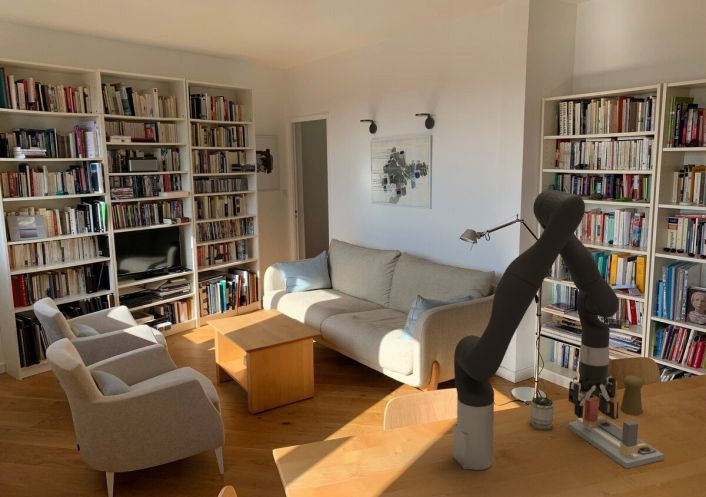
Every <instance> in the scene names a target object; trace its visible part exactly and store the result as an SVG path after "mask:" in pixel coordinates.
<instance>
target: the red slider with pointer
mask: <svg viewBox="0 0 706 497" xmlns="http://www.w3.org/2000/svg"><path fill="white" fill-rule="evenodd" d="M598 403H599V400H597V399H595V398H588V400H586V401H585V402H584V413H583V418H582V419H583V424H584V425H585V426H587V427H588V428H591V427H596V426H599V424H600V423H605V424H607V421H608V420H609V419H608V418H606V419H602V420H598V417H599V410H598Z"/></svg>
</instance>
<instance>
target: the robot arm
mask: <svg viewBox="0 0 706 497" xmlns="http://www.w3.org/2000/svg"><path fill="white" fill-rule="evenodd" d="M532 207H533V208H532V210H533V214H534V217H535V218H536V220H537V222H538V224H539V225H540V227H541V228H542V229H543V231H542V233H541V235H540V236H539V238H538V239H537V240H536V241H535V242H534V244H532V245H531V246H530V247H529V248H528V249H526V250H525V251H523V252H522V253H521V254H519V255H518V256H517V257H516V258H514V259H513V260H512V261H511V262H510V263H509V264H508V266H507V267H506V269H505V270H504V272H503V274H502V275H501V277H500V280H499V281H498V283H497V285H496V287H495V291H494V295H493V300H492V306H491V312H490V317H489V321H488V323H487V325H486V328H485V329H484V331H483V333H482V335H481V336H479V335H475V334H474V335H467V336H464V337H462V338H461V339H460V340H459V341H458V343H457V344H456V346H455V349H454V354H453V355H454V356H453V358H454V359H453V361H454V362H453V368H454V369H453V370H454V372H453V374H454V385H455V388H456V395H457V397H456V400H457V401H456V402H457V403H456V411H457V412H456V422H457V423H455V424H454V425H453V459H454V460H455V462H457V463H458V464H459V465H460V466H461V468H463V470H474V471H479V470H480V471H483V470H487V469H489V468H490V467H491V466H492V465H493V458H494V452H493V451H494V420H495V419H494V418H495V416H494V412H495V411H494V410H495V391H494V388H493V386H492V384H491V381H490V378H492V377H493V376H494V375H495V374H496V373H497V372H498V370H499V369H500V367H501V364H502V362H503V360H504V359H505V358H504V357H505V355H506V353H507V350H508V348H509V346H510V343H511V341H512V339H513V337H514V335H515V333H516V331H517V329H518V327H519V325H520V323H521V322H522V320H523V319H524V317H525V314H526V313H527V311H528V309H529V308H530V305H531V304H532V303H533V301H534V299H535V297H536V295H537V294H538V292H539V290H540V288H541V287H542V284H543V282H544V281H545V280H546V277H547V275H548V273H549V272H550V270H551V268H553V265H554V263H555V262H556V261H557V258H558V257H559V255H560V257H561V258H562V261H563V262H564V265H565V266H566V269H567V271H568V273H569V276H570V277H571V280H572V282H573V285H574V286H575V288H577V290H579V293H578V294H577V297H576V310H577V314H578V318H579V323H580V326H581V339H580V347H579V348H580V349H579V360H578V374H579V380H578V381H577V382H575V381H572V380H571V381H570V382H569V385H568V399H567V400H568V402H569V403H572V404H573V405H574V409H573V410H574V413H573V414H574V415H575V416H576V417H577V418H578V419H579V418H582V419H583V418H584V405H585V401H586V400H588V398H589V397H590V396H592V395H595V394H596V395H598V394H599V396H600V397H601V398H600V399H599V410H598V412H600V413H602V414H604V413H606V412H607V409H608V401H609V400H610V398H614V397H615V388H616V381H617V379H616V378H615V377H614V376H612V375H609V364H610V336H611V335H610V332H611V331H610V326H608V324H606V323H604V322H603V321H601V319H600V318H599V317H601V318H605V319H606V318H611V317H613V316H615V315H616V314H617V312H618V310H619V305H620V304H619V298H618V295H617V294H616V292H615V291H614V289H613V287H611V285H610V284H609V283H608V281H607V280H606V279H605V278H604V277H603V276H602V275H601V272H600V269H599V267H598V265H597V263H596V261H595V258H594V257H593V255H592V253H591V251H589V249H588V248H587V247H586V246H585V245H584V243H583V242H582V241H581V240H580V239H579V238H578V237H577V235H576V234H575V232H576V231H577V229H578V228H579V226H580V224H581V223H582V221H583V218H584V216H585V211H586V204H585V200H584V199H583V198H582V197H581V196H580V195H578V194H574V193H571V192H565V191H562V190H557V189H556V190H555V189H546V190H543V191H542V192H540V193H539V194H538V195H537V196H536V197H535V200H534V202H533V206H532ZM605 385H606V389H605V388H604V386H605ZM610 390H611V392H610ZM583 393H584V394H583Z"/></svg>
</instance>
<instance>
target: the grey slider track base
mask: <svg viewBox="0 0 706 497" xmlns="http://www.w3.org/2000/svg"><path fill="white" fill-rule="evenodd" d="M602 419H607V418H606V417H604V416H603V415H600V416H598V420H602ZM607 420H608V421H607V424H605V423H600V424H599V426H596V427H591V428H588V427H587V426H585V425H584V424H583V418H579V417H578V418H577V419H576V421H571V422H567V428H568V429H569V430H570V429H571V430H570V431H572V432H574V433H575V434H576V435H577V434H578V435H577V436H579V437H580V436H581V437H580V438H582V439H583V440H584V441H586V442H587V441H588V443H589V444H590V443H591V444H590V445H592V446H593V447H594V448H596V447H597V448H598V449H597V448H596V449H597V450H599V451H600V450H601V451H600V452H601V453H602V454H605V455H606V456H607V457H609V458H610V459H612V461H615V462H616V463H617V464H619V465H620V466H621V467H623V468H624V469H625V470H626V469H630V468H634V467H640V466H643V465H648V464H650V463H655V462H656V463H657V462H659V461H660V462H661V461H664V458H665V454H664V453H663V452H661V451H659V450H657V449H656V448H654V447H653V446H651V445H650V444H648V443H647V442H645V441H643V440H641V439H640V438H638V434H639V433H638V431H639V430H638V429H639V423H638V422H636V421H634V420H633V419H631V420H626V421H625V420H624V421H623V423H622V427H620V426H619V425H617V424H615V423H614V422H612V421H610V420H609V419H607Z"/></svg>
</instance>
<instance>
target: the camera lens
mask: <svg viewBox="0 0 706 497" xmlns="http://www.w3.org/2000/svg"><path fill="white" fill-rule="evenodd" d="M554 406H555V405H554V402H553V401H552V400H551V399H549V398H547V397H543V396H538V397H534V398H532V399H531V401H530V423H531V425H532V427H534V428H535V429H539V430H543V429H544V430H550V429H551V428H552V426H553V423H554V409H555V407H554Z"/></svg>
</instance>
